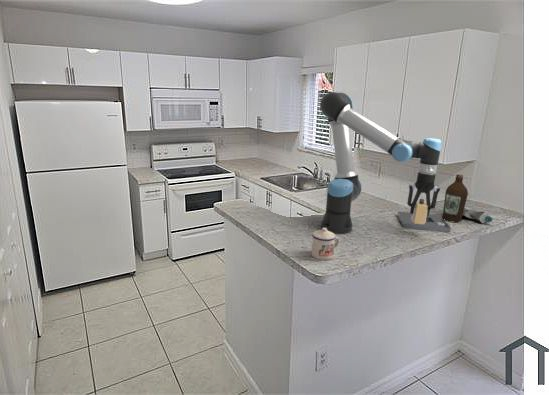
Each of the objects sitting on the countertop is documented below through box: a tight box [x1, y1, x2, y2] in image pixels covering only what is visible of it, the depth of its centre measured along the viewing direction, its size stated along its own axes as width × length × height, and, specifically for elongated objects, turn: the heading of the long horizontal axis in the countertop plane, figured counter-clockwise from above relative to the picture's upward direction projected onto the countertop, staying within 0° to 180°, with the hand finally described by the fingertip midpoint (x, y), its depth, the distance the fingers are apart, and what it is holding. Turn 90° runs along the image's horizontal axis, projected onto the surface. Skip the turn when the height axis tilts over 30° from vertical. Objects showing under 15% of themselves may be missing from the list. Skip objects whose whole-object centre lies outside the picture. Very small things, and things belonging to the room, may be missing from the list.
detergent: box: [462, 207, 493, 224], centre depth 195 cm, size 13×7×25 cm
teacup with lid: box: [311, 228, 340, 261], centre depth 140 cm, size 12×9×12 cm
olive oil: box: [441, 174, 469, 223], centre depth 189 cm, size 11×11×25 cm
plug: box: [414, 198, 428, 224], centre depth 165 cm, size 4×6×11 cm
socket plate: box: [396, 211, 452, 233], centre depth 184 cm, size 22×20×4 cm
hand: (418, 221), depth 167 cm, fingers closed on plug, 4 cm apart
